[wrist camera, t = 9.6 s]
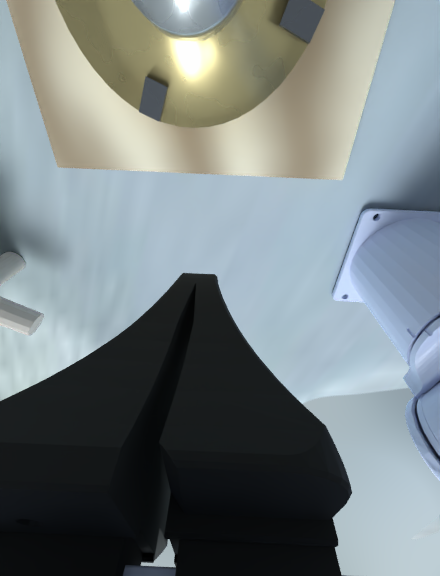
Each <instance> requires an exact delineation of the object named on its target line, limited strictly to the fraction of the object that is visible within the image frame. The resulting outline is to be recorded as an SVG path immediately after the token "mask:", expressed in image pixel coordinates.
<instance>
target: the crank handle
mask: <svg viewBox="0 0 440 576" xmlns="http://www.w3.org/2000/svg"><path fill="white" fill-rule="evenodd" d="M55 2H56V4H57V7H58V9H59V11H60V13H61V15H62V17H63V19H64V21H65V23H66V25H67V28H68V30H69V31H70V33H71V35H72V37H73V38H74V40H75V42H76V43H77V45H78V47H79V49H80V50H81V52H82V53H83V55H84V56H85V57H86V59H87V60H88V62H89V63H90V65H91V66H92V67H93V69H94V70H95V71H96V72H97V74H98V75H99V76H100V77H101V78H102V79H103V80H104V82H105V83H106V84H107V85H108V86H109V87H110V88H111V89H112V90H113V91H114V92H115V93H116V94H117V95H119V96H120V97H121V98H122V99H123V100H124V101H126V102H127V103H129V104H130V105H131V106H133V107H134V108H135V109H137V110H139V112H140V113H142V114H144V115H146V116H148V117H150V118H152V119H154V120H156V121H158V122H163V123H167V124H171V125H175V126H179V127H189V128H201V127H211V126H215V125H220V124H224V123H226V122H229V121H231V120H234V119H236V118H239V117H240V116H242V115H244V114H246V113H247V112H249V111H251V110H253V109H254V108H255V107H256V106H258V105H259V104H260V103H262V102H263V101H264V100H265V99H267V98H268V97H269V96H270V95H271V94H272V93H273V92H274V91H275V90H276V89H277V88H278V87H279V86H280V85H281V83H282V82H283V81H284V79H285V78H286V77H287V76H288V74H289V73H290V72H291V71H292V69H293V68H294V66H295V65H296V63H297V62H298V60H299V59H300V57H301V55H302V54H303V52H304V51H305V49H306V47H307V45H308V44H309V43H310V42H311V39H312V37H313V35H314V33H315V31H316V28H317V26H318V24H319V22H320V20H321V17H322V15H323V13H324V11H325V9H324V7H325V5H326V2H327V0H55Z"/></svg>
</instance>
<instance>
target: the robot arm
mask: <svg viewBox="0 0 440 576" xmlns="http://www.w3.org/2000/svg"><path fill="white" fill-rule="evenodd" d="M376 214H378V216H377V218H375V219H373V216H374V215H376ZM345 294H346V296H343V295H345ZM342 296H343V297H342ZM332 297H333V298H334V300H336V301H351V302H364V303H365V304H366V306H367V307H368V308H369V310H370V311H371V313H372V314H373V316H374V317H375V318H376V320H377V321H378V323H379V324H380V325H381V327H382V328H383V330H384V331H385V333H386V334H387V335H388V337H389V338H390V340H391V341H392V343H393V344H394V345H395V347H396V348H397V350H398V351H399V353H400V354H401V355H402V357H403V358H404V360H405V361H406V362H407V364H408V365H409V367H410V369H409V371H408V373H407V374H406V375H405V376H404V377H403V379H404V381H405V382H406V384H407V385H408V387H409V388H410V390H411V391H412V393H413V394H414V396H415V397H413V398H412V399H411V400H410V401H409V402H408V404H407V407H406V413H405V417H406V423H407V427H408V430H409V432H410V435H411V437H412V439H413V442H414V444H415V446H416V447H417V449H418V451H419V452H420V454H421V456H422V458H423V459H424V461H425V463H426V464H427V465H428V467H429V468H430V470H431V471H432V472H433V473H434V475H435V476H436V477H437V478H438V480H439V481H440V212H435V211H413V210H392V209H366V210H364V211H363V212H362V213H361V215H360V218H359V221H358V223H357V226H356V229H355V232H354V235H353V237H352V240H351V243H350V246H349V249H348V251H347V254H346V257H345V260H344V263H343V265H342V268H341V271H340V274H339V276H338V279H337V282H336V285H335V288H334V290H333V293H332ZM351 494H352V491H351V486H350V482H349V479H348V476H347V472H346V470H345V467H344V464H343V462H342V460H341V457H340V455H339V453H338V451H337V448H336V446H335V444H334V442H333V440H332V438H331V436H330V434H329V432H328V430H327V428H326V426H325V425H324V424H323V423H322V422H321V421H320V420H319V419H318V418H316V417H315V416H314V415H313V414H312V413H311V412H310V411H309V410H308V409H306V407H304V405H303V404H301V403H300V402H299V401H298V400H297V399H296V398H295V397H294V396H293V395H292V394H291V393H290V392H289V391H288V390H287V389H286V387H285V386H284V385H283V384H282V383H281V382H280V381H279V380H278V379H277V378H276V377H275V376H274V375H273V373H272V372H271V371H270V370H269V369H268V368H267V366H266V365H265V364H264V363H263V362H262V361H261V359H260V358H259V357H258V356H257V354H256V353H255V352H254V350H253V349H252V348H251V346H250V345H249V344H248V342H247V341H246V339H245V338H244V336H243V335H242V333H241V332H240V330H239V329H238V327H237V325H236V323H235V322H234V320H233V318H232V316H231V314H230V312H229V310H228V308H227V306H226V304H225V302H224V299H223V297H222V294H221V292H220V289H219V285H218V280H217V276H216V275H215V274H192V273H183V274H182V275H181V276H180V277H179V278H178V279H177V280H176V282H175V283H174V284H173V285H172V286H171V287H170V288H169V289H168V291H167V292H166V293H165V294H164V295H163V296H162V297H161V298H160V299H159V300H158V301H157V302H156V303H155V304H154V305H153V306H152V307H151V308H150V309H149V310H148V311H147V312H145V313H144V314H143V315H142V316H141V317H140V318H139V319H138V320H137V321H135V322H134V323H133V324H132V325H131V326H129V327H128V328H127V329H126V330H124V331H123V332H122V333H120V334H119V335H118V336H116V337H115V338H113V339H112V340H110V341H109V342H107V343H106V344H104V345H103V346H101V347H100V348H98V349H97V350H95V351H94V352H92V353H91V354H89V355H88V356H86V357H84V358H83V359H81V360H79V361H77V362H76V363H74V364H72V365H71V366H69V367H67V368H65V369H63V370H62V371H60V372H58V373H56V374H54V375H52V376H51V377H49V378H47V379H45V380H43V381H41V382H39V383H37V384H35V385H33V386H31V387H29V388H27V389H25V390H23V391H21V392H19V393H17V394H15V395H12V396H10V397H8V398H6V399H4V400H2V401H0V576H346V575H341V572H340V567H339V563H338V559H337V555H336V551H335V547H336V546H338V538H337V534H336V530H335V526H334V522H333V519H332V518H333V517H334V516H335V514H336V513H338V512H339V511H340V509H341V508H343V507H344V506H345V504H346V503H347V501H348V500H349V498H350V496H351ZM168 539H170V541H171V544H172V547H173V550H174V553H175V559H174V563H175V566H176V568H175V567H154V566H141V562H148V563H153V562H154V560H155V559H156V558H157V557H158V556H159V555H160V554H161V553H162V551H163V550H164V549H165V548H166V546H167V540H168Z"/></svg>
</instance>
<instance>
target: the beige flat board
mask: <svg viewBox="0 0 440 576" xmlns="http://www.w3.org/2000/svg"><path fill="white" fill-rule="evenodd" d="M6 1H7V4H8V7H9V10H10V14H11V17H12V20H13V23H14V27H15V30H16V33H17V36H18V40H19V43H20V46H21V49H22V53H23V56H24V59H25V62H26V66H27V69H28V72H29V75H30V79H31V82H32V85H33V88H34V92H35V95H36V98H37V101H38V104H39V108H40V111H41V114H42V117H43V121H44V124H45V127H46V130H47V134H48V137H49V140H50V143H51V147H52V150H53V153H54V156H55V160H56V163H57V166H58V167H61V168H83V169H106V170H128V171H151V172H173V173H196V174H218V175H241V176H263V177H286V178H308V179H331V180H343V177H344V173H345V170H346V167H347V163H348V160H349V156H350V153H351V150H352V146H353V143H354V139H355V136H356V133H357V129H358V126H359V122H360V119H361V115H362V112H363V109H364V105H365V102H366V98H367V95H368V92H369V88H370V85H371V81H372V78H373V75H374V71H375V68H376V64H377V61H378V57H379V54H380V51H381V47H382V44H383V40H384V37H385V34H386V30H387V27H388V23H389V20H390V17H391V13H392V10H393V6H394V3H395V0H327V2H326V5H325V7H324V9H325V11H324V13H323V15H322V17H321V20H320V22H319V24H318V26H317V28H316V31H315V33H314V35H313V37H312V39H311V42H310V43H309V44H308V45H307V47H306V49H305V51H304V52H303V54H302V55H301V57H300V59H299V60H298V62H297V63H296V65H295V66H294V68H293V69H292V71H291V72H290V73H289V74H288V76H287V77H286V78H285V79H284V81H283V82H282V83H281V85H280V86H279V87H278V88H277V89H276V90H275V91H274V92H273V93H272V94H271V95H270V96H269V97H268V98H267V99H265V100H264V101H263V102H262V103H260V104H259V105H258V106H256V107H255V108H254V109H253V110H251V111H249V112H247V113H246V114H244V115H242V116H240V117H239V118H236V119H234V120H231V121H229V122H226V123H224V124H220V125H215V126H211V127H201V128H189V127H179V126H175V125H171V124H167V123H163V122H158V121H156V120H154V119H152V118H150V117H148V116H146V115H144V114H142V113H140V112H139V110H137V109H135V108H134V107H133V106H131V105H130V104H129V103H127V102H126V101H124V100H123V99H122V98H121V97H120V96H119V95H117V94H116V93H115V92H114V91H113V90H112V89H111V88H110V87H109V86H108V85H107V84H106V83H105V82H104V80H103V79H102V78H101V77H100V76H99V75H98V74H97V72H96V71H95V70H94V69H93V67H92V66H91V65H90V63H89V62H88V60H87V59H86V57H85V56H84V55H83V53H82V52H81V50H80V49H79V47H78V45H77V43H76V42H75V40H74V38H73V37H72V35H71V33H70V31H69V30H68V28H67V25H66V23H65V21H64V19H63V17H62V15H61V13H60V11H59V9H58V7H57V4H56V2H55V0H6Z"/></svg>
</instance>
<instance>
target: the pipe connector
mask: <svg viewBox="0 0 440 576" xmlns="http://www.w3.org/2000/svg"><path fill="white" fill-rule="evenodd" d="M25 266H26V264H25V261H24V259H23V258H22V257H21V256H20V255H18V254H16V253H14V252H6V253H4V254H2V255H0V286H1V285H2V284H3V283H5V282H6V281H8V280H9V279H10V278H12V277H13V276H14V275H16V274H17V273H19V272H20V271H21V270H23V269H24V268H25ZM43 318H44V314H42V313H40V312H37V311H35V310H32V309H30V308H27V307H25V306H22V305H20V304H17V303H15V302H13V301H10V300H8V299H5V298H3V297H0V325H1V326H4V327H7V328H9V329H12V330H15V331H17V332H20V333H23V334H25V335H28V336H29V335H32V334H33V333H34V332H35V331H36V330H37V328H38V327H39V325H40V324H41V322H42V320H43Z"/></svg>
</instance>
